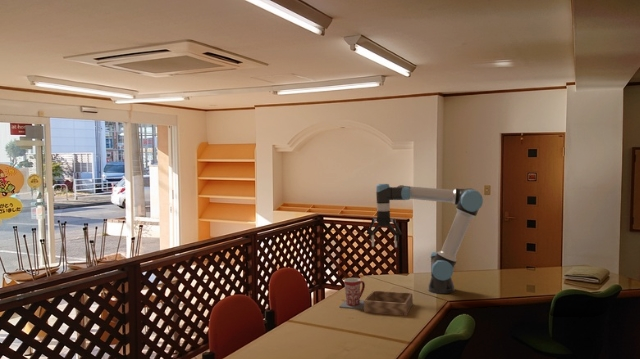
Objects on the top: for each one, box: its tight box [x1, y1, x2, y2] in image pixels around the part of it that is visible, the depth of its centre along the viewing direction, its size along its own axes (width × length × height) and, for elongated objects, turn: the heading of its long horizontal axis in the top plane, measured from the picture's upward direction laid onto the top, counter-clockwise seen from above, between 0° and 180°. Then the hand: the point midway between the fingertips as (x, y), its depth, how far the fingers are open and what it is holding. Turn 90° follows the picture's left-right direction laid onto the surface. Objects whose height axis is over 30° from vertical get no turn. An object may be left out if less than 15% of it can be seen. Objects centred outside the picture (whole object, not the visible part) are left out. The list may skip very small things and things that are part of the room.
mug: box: [343, 277, 366, 306], centre depth 263 cm, size 13×9×14 cm
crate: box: [363, 290, 414, 317], centre depth 256 cm, size 22×20×6 cm
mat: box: [339, 299, 365, 310], centre depth 263 cm, size 14×14×1 cm
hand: (384, 246), depth 278 cm, fingers open, 13 cm apart
